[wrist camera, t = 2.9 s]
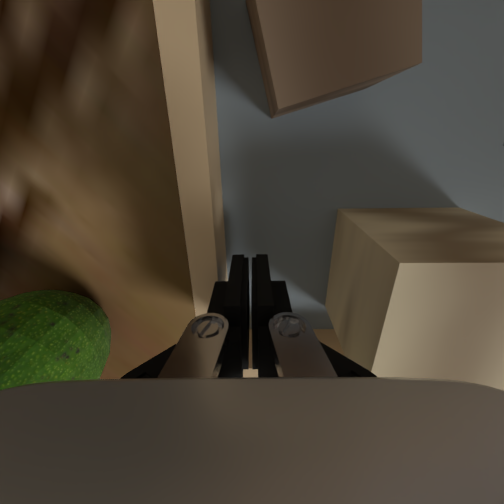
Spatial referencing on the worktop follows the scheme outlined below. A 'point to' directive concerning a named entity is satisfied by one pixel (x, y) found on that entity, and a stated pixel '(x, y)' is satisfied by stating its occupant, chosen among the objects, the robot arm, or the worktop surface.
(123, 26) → the worktop surface
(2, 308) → the fruit
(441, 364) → the beech block
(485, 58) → the cubby deck
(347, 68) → the smoked oak block
